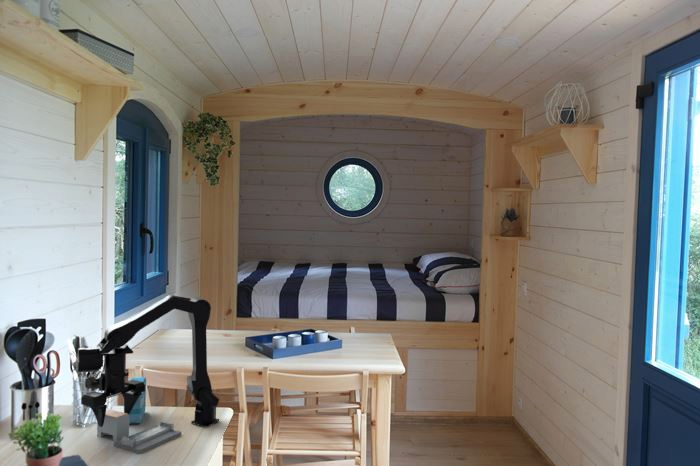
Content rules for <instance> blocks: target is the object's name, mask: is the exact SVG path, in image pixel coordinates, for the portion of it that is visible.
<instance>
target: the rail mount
mask: <svg viewBox="0 0 700 466" xmlns="http://www.w3.org/2000/svg"><path fill="white" fill-rule="evenodd" d="M159 424H160V425H154V426H152V427H148V428H147V429H144V430H142V431H140V432H137V433H134V434H132V435H129V437H126V436H124V437H122V439H121V440H119V441H117V442H116V441H113V447H116V448H119V449H123V450H126V451H128V452H132V453H136V454H138V455H140V454H143V453H144V452H147V451H149V450H151V449H154V448H156V447H158V446H160V445H162V444H165V443H167V442H170V441H171V440H173V439H176V438H178V437H181V435H182V431H179V430H176V429H175V424H174V423H173V422H170V421H169V422H168V421H166V420H165V421H164V420H161V421H160V423H159Z"/></svg>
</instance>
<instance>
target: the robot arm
mask: <svg viewBox="0 0 700 466" xmlns="http://www.w3.org/2000/svg"><path fill="white" fill-rule="evenodd" d="M211 309H212V307H211V304H210V302H209V301H208V300H205V298H204V299H203V298H202V297H200V296H194V297H191V298H189V297H184V296H178V295H175V294H168V295H167V296H165V297H164V298H163V299H161V300H159V301H158V302H156V303H155V304H154V303H153V305H151V306H149V307H147V309H144V310H143V311H141V312H140V313H138V314H136V315H135V316H134V317H132V318H129V319H126V320H122V321H120V322H117V323H114V324H112V325H110V326H108V327H107V328H106V329H105V331H104V335H103V338H102V339H101V340H100V342H98V344H97V345H96V347H78V349H77V353H76V354H77V355H76V358H75V359H76V360H75V365H76V368H75V369H76V373H77V374H79V373H89V372H98V371H99V370H100V369H102V368H103V367H104V371H103V372H101V374H100V377H98V378H96V377H95V376H94V375H93V376H90V377H86V378H85V379H84V380H85V381H84V387H85V389H86V390H89V389H90V392H87V393H83V395H82V396H81V398H80V399H81V401H80V405H81V406H82V405H83V406H85V407H87V408H90V409H91V411H92V412H93V414H94V416H95V420H96V423H97V422H98V425H99V427H103V424H104V419H105V414H106V411H107V410H108V409H107V408H108V405H107V404H106V403H107V401H108V399H110V398H113V397H116V396H119V395H121V396H122V397H123V412H124V413H127V414H130V412H131V410H132V408H133V406H134V405H135V403H136V401H137V400H138V398H139V396H140V395H142V393H141V392H144V391H145V384H144V383H143V382H141V381H137V380H130V379H129V380H127V381H126V377H128V376H130V375H129V371H126V369H127V368H126V367H127V366H126V364H127V355H130V354H131V355H132V354H134V351H133V349H132V348H131V347H130V346H129V345H128V342H130V341H131V340H132V339H133V338H134V337H135V336H136V335H137V333H139V331H141V330H143V329H144V328H146V327H148V326H149V325H150V324H152V323H153V322H155V321H157V320H158V319H160V318H162V317H163V316H165V315H167V314H168V313H170V312H171V311H173V310H178V311H181V312H187V315H188V318H189V321H190V324H191V329H192V330H191V331H192V332H191V333H192V335H191V338H192V340H191V341H192V343H191V344H192V372H191V374H190V375H187V376H186V382H187V386H186V387H185V388H186V390H187V391H188V392H189V394H190V395H191V396H192V397H193V399H194V400H195V401H196V404H195V407H194V408H195V410H194V420H191V422H190V423H191V424H193V423H195V424H194V425H197V424H199V425H198V426H201V425H203V426H202V427H205V426H208V427H209V425H210V426H212V425H214V424H216V423H218V422H217V421H219V420H220V419H219V418H217V407H218V405H219V402H220V399H219V398H218V397H217V396H216V395H215V394H214V392H213V389H212V388H213V387H212V382H211V379H210V377H209V373H208V357H207V356H208V355H207V354H208V353H207V352H208V351H207V349H208V348H207V347H208V346H207V345H208V344H207V327H208V324H209V321H210V317H211ZM95 390H99V392H98V391H95ZM220 421H221V420H220ZM220 421H219V422H220ZM215 422H216V423H215ZM213 423H214V424H213ZM211 424H212V425H211Z"/></svg>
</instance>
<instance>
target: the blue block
mask: <svg viewBox="0 0 700 466" xmlns="http://www.w3.org/2000/svg"><path fill="white" fill-rule="evenodd" d="M130 380H137V381H141V382H143V383H144V384H145V391H144V392H141V393H142V395H140V396H139V398H138V400H137V401H136V403H135V405H134V406H133V408H132V410H131V412H130V414H129V425H130V424H131V425H133V424H141V422H142V419H143V418H144V416H145V412H146V403H147V402H146V401H147V400H146V395H147V393H146V392H147V377H144V376H142V377H141V376H140V377H139V376H138V377H134V376H132V377H131V378H130V379H129V381H130Z"/></svg>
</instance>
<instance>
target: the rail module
mask: <svg viewBox="0 0 700 466" xmlns="http://www.w3.org/2000/svg"><path fill="white" fill-rule="evenodd" d="M96 423H97V424H96V425H97V426H96V436H97V437H100V438H101V437H104V436H106V435H107V436H108V435H110V436H112V441H113V442H117V441H119V440H121V439H122V437H124V436H126V437H129V436H130V435H129V434H130V424H129V414H127V413H124V411H119V410H116V409H110V408H109V409H106V414H105V419H104V424H103V427H99V425H98V422H97V421H96Z"/></svg>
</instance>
